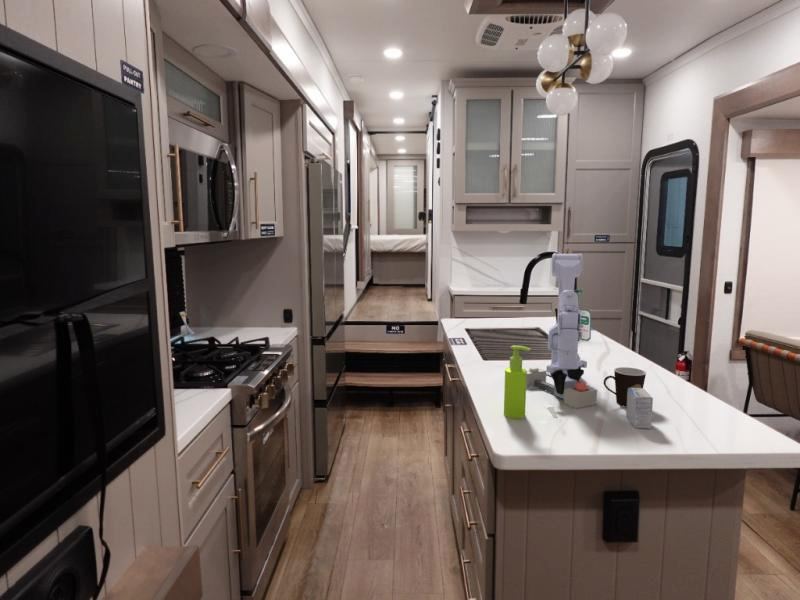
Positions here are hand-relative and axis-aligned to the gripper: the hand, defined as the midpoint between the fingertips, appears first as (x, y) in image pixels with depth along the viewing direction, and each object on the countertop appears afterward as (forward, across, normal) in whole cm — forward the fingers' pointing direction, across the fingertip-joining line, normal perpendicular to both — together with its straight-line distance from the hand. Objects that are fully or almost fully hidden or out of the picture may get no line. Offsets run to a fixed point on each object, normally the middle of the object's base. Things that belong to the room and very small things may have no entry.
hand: (565, 392), depth 155 cm
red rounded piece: (-1, 0, -6) cm, 6 cm away
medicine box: (+2, +3, -24) cm, 24 cm away
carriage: (+2, 0, 0) cm, 2 cm away
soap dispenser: (+2, -23, -5) cm, 24 cm away
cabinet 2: (+2, 0, -6) cm, 6 cm away
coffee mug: (+2, +12, -11) cm, 16 cm away
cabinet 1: (+2, 0, +15) cm, 15 cm away
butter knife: (+2, -15, -12) cm, 19 cm away
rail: (+2, 0, +5) cm, 5 cm away
